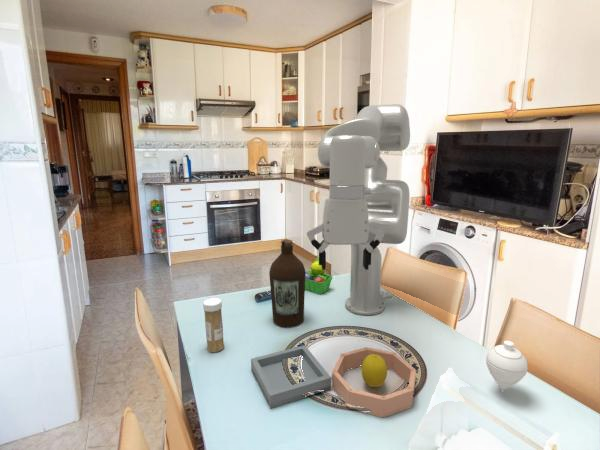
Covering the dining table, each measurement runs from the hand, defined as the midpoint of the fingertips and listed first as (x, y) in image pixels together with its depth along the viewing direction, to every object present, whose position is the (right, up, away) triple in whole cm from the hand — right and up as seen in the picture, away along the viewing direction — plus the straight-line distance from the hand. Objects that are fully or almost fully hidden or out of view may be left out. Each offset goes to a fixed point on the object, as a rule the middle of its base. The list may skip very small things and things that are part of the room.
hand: (344, 267), depth 83 cm
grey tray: (-13, -26, 0) cm, 28 cm away
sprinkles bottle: (-32, -23, +13) cm, 42 cm away
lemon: (+6, -26, -3) cm, 27 cm away
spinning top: (+33, -26, -5) cm, 43 cm away
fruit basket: (-4, -14, +50) cm, 52 cm away
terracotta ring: (+6, -26, -3) cm, 27 cm away
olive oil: (-14, -19, +27) cm, 36 cm away
